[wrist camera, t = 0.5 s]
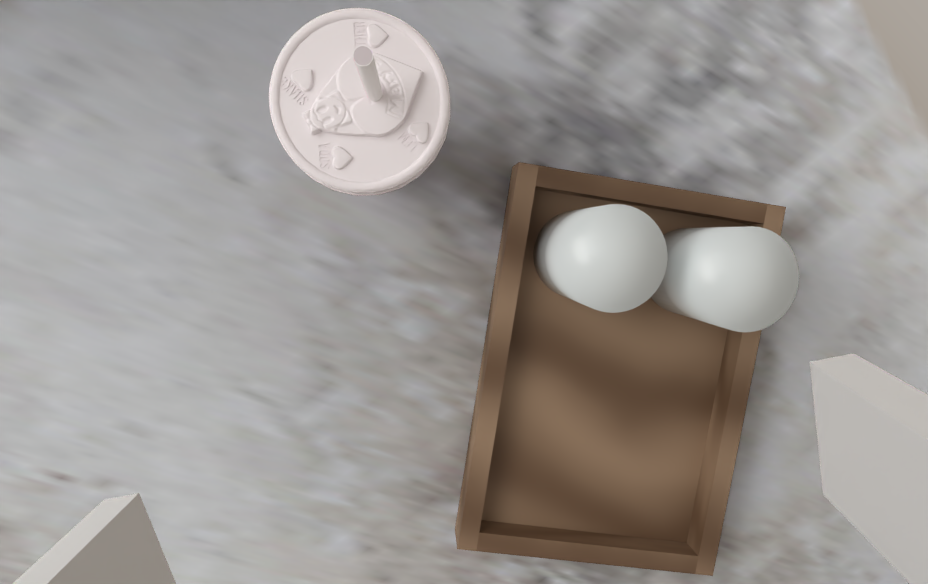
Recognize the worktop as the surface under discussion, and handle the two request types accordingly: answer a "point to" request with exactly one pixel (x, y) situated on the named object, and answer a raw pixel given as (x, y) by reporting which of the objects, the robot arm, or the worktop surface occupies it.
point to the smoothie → (360, 101)
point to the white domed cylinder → (729, 276)
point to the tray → (603, 399)
